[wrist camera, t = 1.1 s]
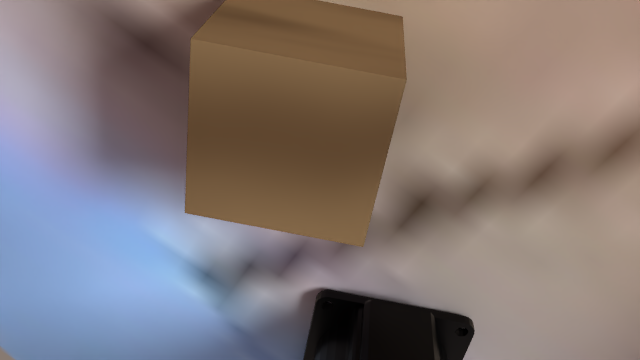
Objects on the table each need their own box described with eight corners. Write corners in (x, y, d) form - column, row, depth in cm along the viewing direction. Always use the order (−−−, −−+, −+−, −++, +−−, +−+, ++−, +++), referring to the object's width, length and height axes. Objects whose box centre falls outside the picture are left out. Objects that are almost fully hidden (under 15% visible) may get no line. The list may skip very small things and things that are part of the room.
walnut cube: (368, 156, 20) (363, 246, 16) (228, 129, 20) (184, 213, 16) (402, 15, 17) (406, 79, 13) (239, -16, 17) (190, 38, 13)
